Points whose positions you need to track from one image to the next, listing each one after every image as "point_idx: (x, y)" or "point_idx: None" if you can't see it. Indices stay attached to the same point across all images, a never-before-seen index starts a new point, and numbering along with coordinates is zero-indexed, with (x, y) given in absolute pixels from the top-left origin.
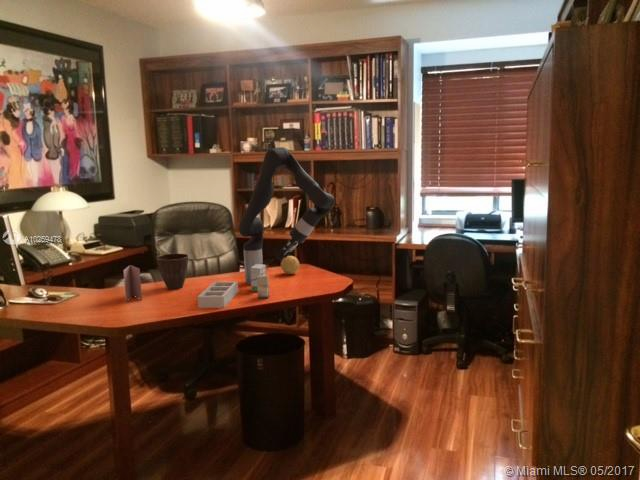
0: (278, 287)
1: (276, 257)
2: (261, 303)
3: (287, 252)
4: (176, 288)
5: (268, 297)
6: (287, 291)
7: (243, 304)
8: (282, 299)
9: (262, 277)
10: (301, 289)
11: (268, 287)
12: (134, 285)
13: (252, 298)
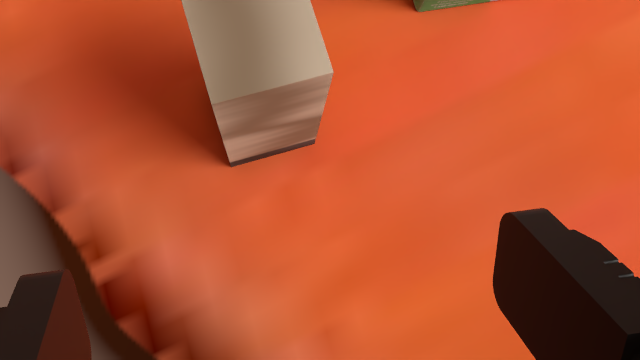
0: (598, 96)
1: (18, 281)
2: (76, 179)
3: (574, 356)
4: None
5: (267, 156)
6: None
7: (14, 45)
8: (245, 308)
9: (197, 53)
10: None
11: (289, 126)
12: None
13: None
